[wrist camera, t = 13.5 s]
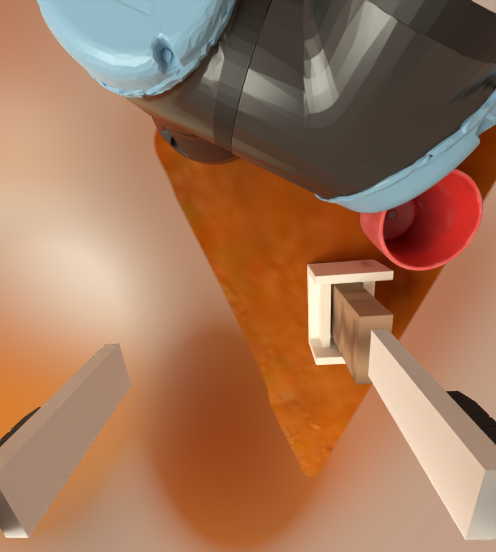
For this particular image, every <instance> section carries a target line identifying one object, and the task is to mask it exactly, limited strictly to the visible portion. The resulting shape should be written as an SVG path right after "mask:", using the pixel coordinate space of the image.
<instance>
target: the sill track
mask: <svg viewBox="0 0 496 552" xmlns="http://www.w3.org/2000/svg"><path fill="white" fill-rule="evenodd" d="M307 273H308V328H309V344H310V348H311V351H312V354H313V357H314V360H315V363H316V365H324V364H346V363H345V361H344V359H343V357H342V355H341V353H340V351H339V349H338V347H337V345H336V343H335V341H334V339H333V337H332V335H331V333H330V319H331V284H338V283H352V282H358V283H359V284H360V285H361V286H362V287H364V288H365V289H366V290H367V291H368V292H369V293H370V294H371V295H372V296H373V297H374V291H375V281H381V280H393V273H394V271H393V270H391V269H389V268H388V267H386V266H384V265H383V264H381V263H379V262H378V261H376V260H374V259H371V260H358V261H344V262H331V263H318V264H307Z"/></svg>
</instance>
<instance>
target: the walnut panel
mask: <svg viewBox="0 0 496 552" xmlns="http://www.w3.org/2000/svg"><path fill="white" fill-rule="evenodd" d="M392 323H393V314H392V313H391V312H390V311H389V310H388V309H386V308H385V307H384V306H383V305H382V304H381V303H380V302H379V301H378V300H377V299H376V298H374V297H373V296H372V295H371V294H370V293H369V292H368V291H367V290H366V289H365V288H364V287H362V286H361V285H360V284H359V283H358V282H352V283H338V284H331V319H330V333H331V335H332V337H333V339H334V341H335V343H336V345H337V347H338V349H339V351H340V353H341V355H342V357H343V359H344V361H345V363H346V365H347V367H348V369H349V371H350V373H351V375H352V377H353V379H354V381H355V383H356V384H373V383H372V381H371V379H370V378H369V376H368V371H369V357H370V342H371V330H378V329H388V330H389V331H390V332H391V333H392Z"/></svg>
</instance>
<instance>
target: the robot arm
mask: <svg viewBox="0 0 496 552" xmlns="http://www.w3.org/2000/svg"><path fill="white" fill-rule="evenodd" d="M37 3H38V4H39V5H40V10H41V14H42V16H43V18H44V20H45V22H46V24H47V25H48V27H49V29H50V30H51V32H52V33H53V34H54V36H55V37H56V39H57V40H58V41H59V42H60V44H61V45H62V47H63V48H64V49H65V50H66V51H67V52H68V53H69V54H70V55H71V56H72V57H73V58H74V59H75V60H76V61H77V62H78V63H79V64H80V65H82V66H83V67H84V68H85V69H86V70H87V71H88V73H89V75H90V76H91V77H92V78H93V79H95V80H97V81H98V83H99V84H100V85H101V86H103V87H104V88H106V89H108V90H109V91H111V92H114V93H116V94H119V95H122V96H123V97H124V98H126V99H127V100H129V101H130V102H132V103H133V104H135V105H136V106H137V107H139V108H140V109H142V110H143V111H144V112H146V113H147V114H149V115H150V116H152V119H153V121H154V123H155V125H156V127H157V129H158V131H159V132H160V134H161V135H162V137H163V138H164V139H165V140H166V142H167V143H168V144H169V145H170V146H171V147H172V148H173V149H175V150H176V151H177V152H179V153H180V154H182V155H183V156H185V157H187V158H189V159H191V160H193V161H196V162H199V163H203V164H223V163H227V162H230V161H232V160H234V159H236V158H238V157H241V158H243V159H245V160H247V161H249V162H251V163H253V164H255V165H257V166H259V167H261V168H263V169H265V170H267V171H269V172H272V173H274V174H276V175H278V176H280V177H282V178H284V179H286V180H288V181H290V182H292V183H294V184H296V185H298V186H300V187H302V188H304V189H306V190H309V191H311V192H313V193H314V195H315V196H316V197H317V198H319V199H321V200H323V201H328V202H330V203H336V204H339V205H341V206H343V207H346V208H348V209H350V210H353V211H356V212H361V213H377V212H382V211H386V210H389V209H392V208H395V207H397V206H400V205H402V204H404V203H406V202H408V201H410V200H412V199H413V198H415V197H417V196H419V195H420V194H422V193H423V192H425V191H427V190H428V189H429V188H431V187H432V186H434V185H435V184H437V183H438V182H439V181H441V180H442V179H443V178H444V177H446V176H447V175H448V174H449V173H450V172H452V171H453V170H454V169H455V168H456V167H457V166H458V165H459V164H460V163H462V162H463V161H464V160H465V159H466V158H467V157H468V156H469V155H470V154H471V153H472V151H473V150H474V149H475V148H476V147H477V146H478V145H479V144H480V139H479V137H478V136H479V135H480V134H481V133H483V132H484V131H485V130H487V129H489V128H491V127H492V126H494V125H495V124H496V0H37ZM368 376H369V378H370V379H371V381H372V383H373V384H374V386H375V388H376V389H377V391H378V393H379V395H380V396H381V398H382V400H383V401H384V403H385V405H386V406H387V408H388V410H389V411H390V413H391V415H392V416H393V418H394V420H395V422H396V423H397V425H398V427H399V428H400V430H401V432H402V433H403V435H404V437H405V439H406V440H407V442H408V444H409V445H410V447H411V449H412V450H413V452H414V454H415V455H416V457H417V459H418V461H419V462H420V464H421V466H422V467H423V469H424V471H425V472H426V474H427V476H428V477H429V479H430V481H431V482H432V484H433V486H434V488H435V489H436V491H437V493H438V494H439V496H440V498H441V499H442V501H443V503H444V505H445V506H446V508H447V510H448V511H449V512H450V515H451V516H452V518H453V520H454V521H455V523H456V525H457V527H458V528H459V530H460V532H461V533H462V535H463V537H464V538H465V540H495V537H496V421H495V420H494V419H493V418H490V417H489V415H488V414H487V413H486V412H485V411H484V410H483V409H482V408H481V407H480V406H479V405H478V404H477V403H476V402H475V401H473V400H472V399H470V398H469V397H467V396H465V395H464V394H462V393H460V392H459V391H445V390H444V389H443V388H442V387H441V386H440V385H439V384H438V383H437V382H436V381H435V380H434V378H432V376H431V375H430V374H429V373H428V372H427V371H426V370H425V369H424V368H423V367H422V366H421V365H420V363H418V361H417V360H416V359H415V358H414V357H413V356H412V355H411V354H410V353H409V352H408V351H407V350H406V349H405V347H404V346H403V345H402V344H401V343H400V342H399V341H398V340H397V339H396V338H395V337H394V336H393V335H392V333H391V332H390V331H389V330H388V329H378V330H371V342H370V357H369V371H368ZM130 386H131V383H130V380H129V377H128V373H127V370H126V367H125V363H124V359H123V356H122V353H121V349H120V346H119V344H105V345H104V346H103V347H102V348H101V349H100V350H99V351H98V352H97V353H96V354H95V355H94V356H93V357H92V358H91V359H90V360H89V361H88V362H87V363H86V364H85V365H84V366H83V367H82V368H81V369H80V370H79V371H78V372H77V373H76V374H75V375H73V376H72V377H71V379H69V380H68V381H67V382H66V383H65V384H64V385H63V386H62V387H61V388H60V389H59V390H58V391H57V392H56V393H55V394H54V395H53V396H52V397H51V398H50V399H49V400H48V401H47V402H46V403H45V404H44V405H43V406H42V407H39V408H37V409H35V410H34V411H32V412H31V413H30V414H28V415H27V416H25V417H24V418H23V419H22V420H20V422H18V423H17V424H16V425H15V426H14V427H13V428H12V429H11V431H10V432H8V433H7V434H6V435H5V436H4V437H3V438H2V439H0V528H1V530H2V531H3V533H4V534H5V536H6V538H29V537H30V535H31V534H32V532H33V531H34V529H35V528H36V526H37V525H38V523H39V522H40V520H41V519H42V517H43V516H44V514H45V513H46V511H47V510H48V508H49V507H50V505H51V504H52V502H53V501H54V499H55V498H56V497H57V495H58V493H59V492H60V491H61V489H62V488H63V486H64V485H65V483H66V482H67V480H68V479H69V477H70V476H71V474H72V473H73V471H74V470H75V468H76V467H77V465H78V464H79V462H80V461H81V459H82V458H83V456H84V455H85V453H86V452H87V450H88V449H89V447H90V446H91V444H92V443H93V441H94V440H95V438H96V437H97V435H98V434H99V432H100V431H101V429H102V428H103V426H104V425H105V423H106V422H107V420H108V419H109V417H110V416H111V415H112V413H113V412H114V410H115V408H116V407H117V405H118V404H119V403H120V401H121V399H122V398H123V397H124V395H125V394H126V392H127V390H128V389H129V388H130Z"/></svg>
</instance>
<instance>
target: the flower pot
mask: <svg viewBox="0 0 496 552" xmlns="http://www.w3.org/2000/svg"><path fill="white" fill-rule="evenodd" d="M482 210H483V203H482V197H481V193H480V191H479V188H478V186H477V185H476V183H475V182H474V180H473V179H472V178H471V177H470V176H469V175H467V174H466V173H464V172H462V171H460V170H457V169H454V170H453V171H452V172H450V173H449V174H448V175H447V176H446V177H444V178H443V179H442V180H441V181H439V182H438V183H437V184H435V185H434V186H432V187H431V188H429V189H428V190H427V191H425V192H423V193H422V194H420V195H419V196H417V197H415V198H413V199H412V200H410V201H408V202H406V203H404V204H402V205H400V206H397V207H395V208H392V209H389V210H386V211H382V212H377V213H361V214H360V224H361V228H362V230H363V232H364V233H365V234H366V235H367V237H368V238H369V239H370V240H371V241H372V243H373V244H374V245H375V246H376V247H377V248H378V249H379V250H380V251H381V252H382V253H383V254H384V255H385V256H386V257H387V258H388V259H390V260H391V261H392V262H393V263H395V264H396V265H398V266H400V267H402V268H405V269H409V270H429V269H433V268H436V267H439V266H441V265H444V264H446V263H447V262H449V261H451V260H452V259H454V258H455V257H456V256H458V255H459V254H460V253H461V252H462V251H463V250H464V249H465V248H466V247H467V246H468V245H469V243H470V242H471V240H472V238H473V237H474V236H475V234H476V232H477V230H478V228H479V225H480V222H481V217H482Z"/></svg>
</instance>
